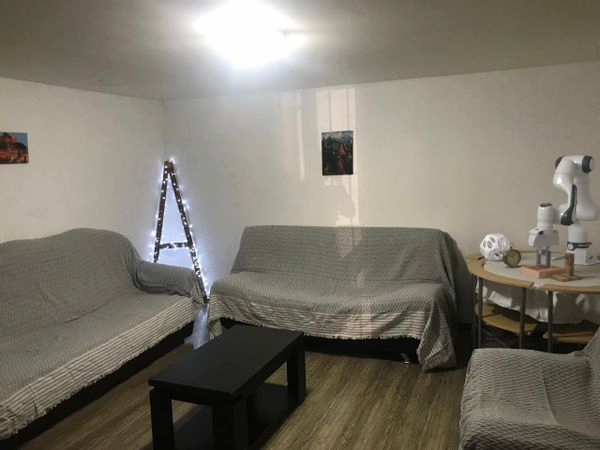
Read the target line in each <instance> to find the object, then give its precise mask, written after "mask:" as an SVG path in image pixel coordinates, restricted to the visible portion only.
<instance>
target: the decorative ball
mask: <svg viewBox="0 0 600 450" xmlns="http://www.w3.org/2000/svg"><path fill="white" fill-rule="evenodd" d="M493 240H495V241H493ZM509 244H510V246H509ZM511 247H512V245H511V242H510V241H509V239H508V237H506V236H505V235H504V234H502V233H490V234H489V233H488V234H486V235H485V237H484V238H483V239H482V241H481V243H480V245H479V250H480V253H481V254H482V256H483V257H484V258H485V259H486V260H487V261H491V262H493V261H494V262H499V261H503V259H502V256H503V253H504V252H505V251H506V250H507V249H511ZM496 254H497V255H496Z"/></svg>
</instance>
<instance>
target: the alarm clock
mask: <svg viewBox="0 0 600 450" xmlns="http://www.w3.org/2000/svg"><path fill="white" fill-rule="evenodd" d="M511 244H512V246H511V249H507V250H506V251H505V252H504V253H503V252H502V254H503V256H502V259H503V260H502V261H503V263H504V264H505V268H506V269H507V268H508V267H519V264H520V262H521V260H522V259H521V258H522V254H521V252H520V251H519V250H518V249H516V248H515V249H514V248H513V247H514V245H515V244H514V242H512V241H511V242H510V244H509V246H510V245H511Z"/></svg>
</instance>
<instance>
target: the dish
mask: <svg viewBox="0 0 600 450" xmlns="http://www.w3.org/2000/svg"><path fill="white" fill-rule="evenodd" d="M544 264H545V265H546V263H544ZM562 273H564V267H562V266H558V265H554V264H550V268H549V269H546V268H542V267H539V266H536V264H533V265H526V266H525V265H524V266H521V267H520V274H523V275H524V276H525V275H526V276H528V277H532V278H535V279H546V278H548V275H555V274H562Z"/></svg>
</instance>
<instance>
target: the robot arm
mask: <svg viewBox="0 0 600 450" xmlns="http://www.w3.org/2000/svg"><path fill="white" fill-rule="evenodd" d="M554 162H555V163H554V168H555V172H554V175H553V178H552V184H553V187H554V189H556V190H557V191H560V192H561V193H564V194H567V202H566V203H561V204H560V205H559V206H558V208H557V207H554V205H553V203H550V202H546V203H545V202H544V203H540V204H539V205H538V207H537V214H536V219H537V223H536V227H534V228H532V229H530V230H529V235H528V236H529V237H528V246H529V247H530V248H537V249H538V250H539V254H543V251H542V249H543V247H545V249H544V250H549V251H550V248H551V247H552V246H558V245H560V236H559V235H560V233H559V231H558V230H557V229H554V225H559V226H560V225H561V226H565V227H567V234H568V235H567V242H566V247H567V248H565V249H566V250H565V253H573V254H575V260H574V265H580V266H592V265H596V264H600V259H598V254H597V252H596V251H594V250H593V249H592V248H591V246H593V241H588V239H589V238H588V237H589V231H588V228H586V227H585V226H583V225H582V224H581V222H580V221H582V222H596V221H598V220H600V205H598V204H597V203H596V202H595V201H594V200H593V197H592V195H591V175H590V173H591V172H592V171H593V170H594V168H595V165H596V162H595V159H594V157H593V156H591V155H586V154H585V155H581V154H579V155H577V154H576V155H574V154H573V155H567V156H566V155H565V156H564V155H562V156H558V158H557V159H556V160H555V161H554ZM563 262H564V263H565V259H563Z"/></svg>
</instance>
